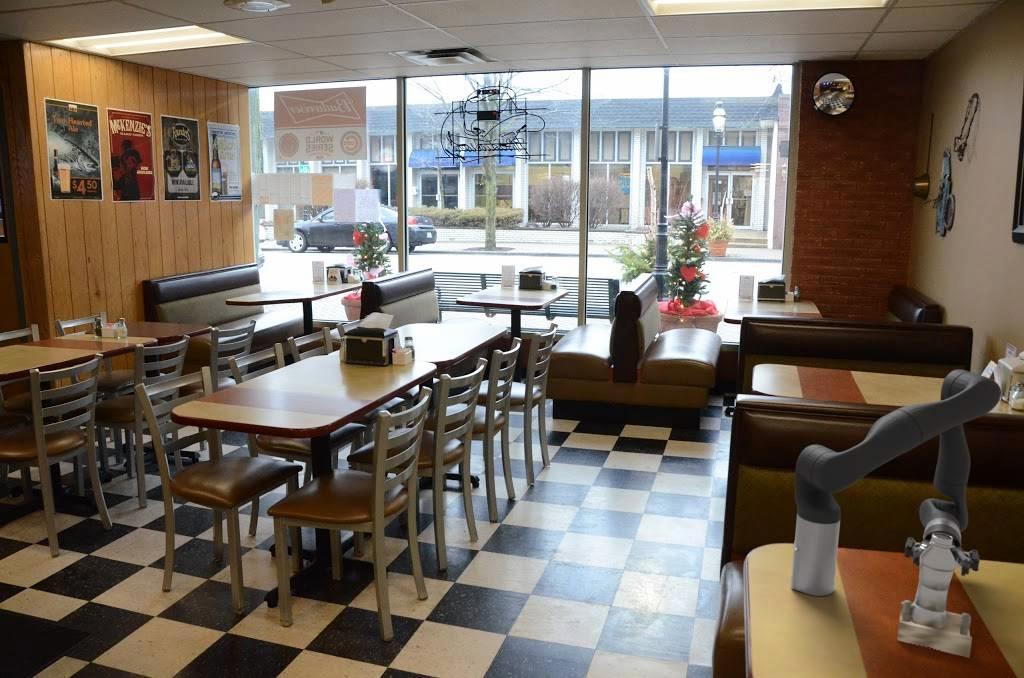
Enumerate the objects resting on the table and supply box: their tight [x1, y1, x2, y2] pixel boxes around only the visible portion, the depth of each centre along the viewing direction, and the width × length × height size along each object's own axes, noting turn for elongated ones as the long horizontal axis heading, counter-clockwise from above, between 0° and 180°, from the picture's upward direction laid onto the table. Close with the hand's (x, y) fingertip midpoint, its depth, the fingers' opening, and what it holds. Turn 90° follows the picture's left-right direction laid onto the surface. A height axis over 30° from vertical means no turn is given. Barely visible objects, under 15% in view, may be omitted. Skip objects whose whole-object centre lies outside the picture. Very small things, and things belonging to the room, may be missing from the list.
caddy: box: [896, 599, 973, 659], centre depth 169 cm, size 13×10×6 cm
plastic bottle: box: [910, 533, 956, 630], centre depth 169 cm, size 6×7×20 cm
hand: (940, 566), depth 173 cm, fingers open, 8 cm apart
